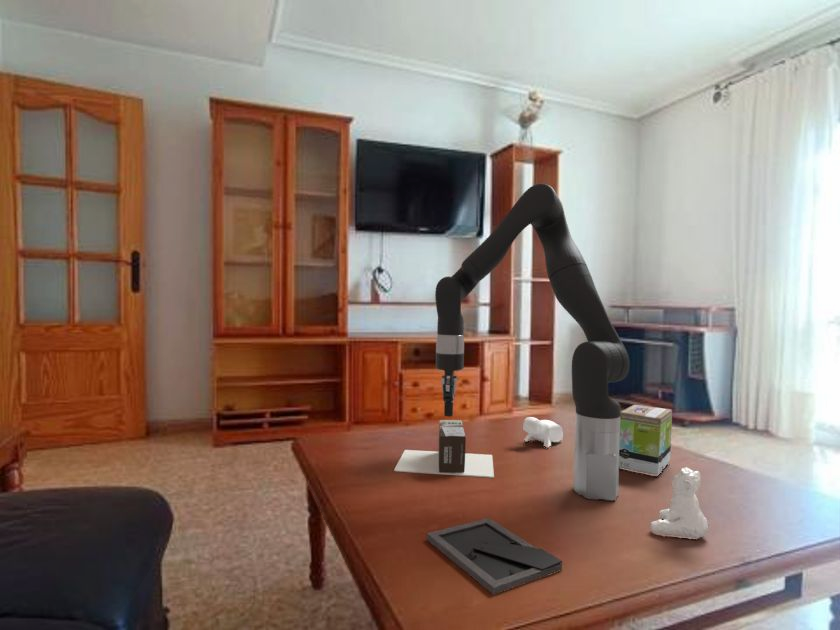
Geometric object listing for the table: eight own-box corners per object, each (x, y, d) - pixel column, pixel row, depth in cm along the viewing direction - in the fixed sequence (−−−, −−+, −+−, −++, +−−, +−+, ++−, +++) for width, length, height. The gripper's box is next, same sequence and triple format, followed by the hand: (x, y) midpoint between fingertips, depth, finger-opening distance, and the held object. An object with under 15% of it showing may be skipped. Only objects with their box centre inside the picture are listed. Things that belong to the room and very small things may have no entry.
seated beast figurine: (661, 516, 93) (662, 455, 93) (712, 530, 88) (714, 465, 87) (648, 533, 86) (650, 467, 85) (703, 550, 80) (705, 479, 80)
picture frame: (561, 573, 73) (487, 526, 88) (562, 560, 73) (488, 515, 88) (493, 598, 66) (426, 542, 82) (494, 584, 66) (426, 530, 82)
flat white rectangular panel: (493, 477, 113) (493, 476, 113) (393, 471, 116) (393, 470, 116) (492, 456, 129) (492, 454, 129) (404, 450, 132) (404, 449, 132)
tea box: (659, 479, 114) (661, 417, 114) (616, 469, 121) (617, 411, 120) (671, 463, 126) (672, 408, 126) (630, 455, 133) (632, 402, 132)
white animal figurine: (538, 448, 149) (511, 437, 140) (545, 421, 151) (518, 409, 142) (563, 454, 142) (535, 444, 133) (569, 426, 144) (543, 414, 135)
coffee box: (438, 419, 131) (439, 434, 114) (462, 420, 130) (466, 435, 114) (438, 453, 131) (438, 472, 114) (461, 453, 130) (465, 473, 114)
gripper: (462, 354, 121) (461, 422, 121) (464, 350, 134) (463, 411, 134) (433, 353, 122) (432, 420, 122) (438, 349, 135) (436, 410, 135)
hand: (448, 415), depth 128 cm, fingers closed
